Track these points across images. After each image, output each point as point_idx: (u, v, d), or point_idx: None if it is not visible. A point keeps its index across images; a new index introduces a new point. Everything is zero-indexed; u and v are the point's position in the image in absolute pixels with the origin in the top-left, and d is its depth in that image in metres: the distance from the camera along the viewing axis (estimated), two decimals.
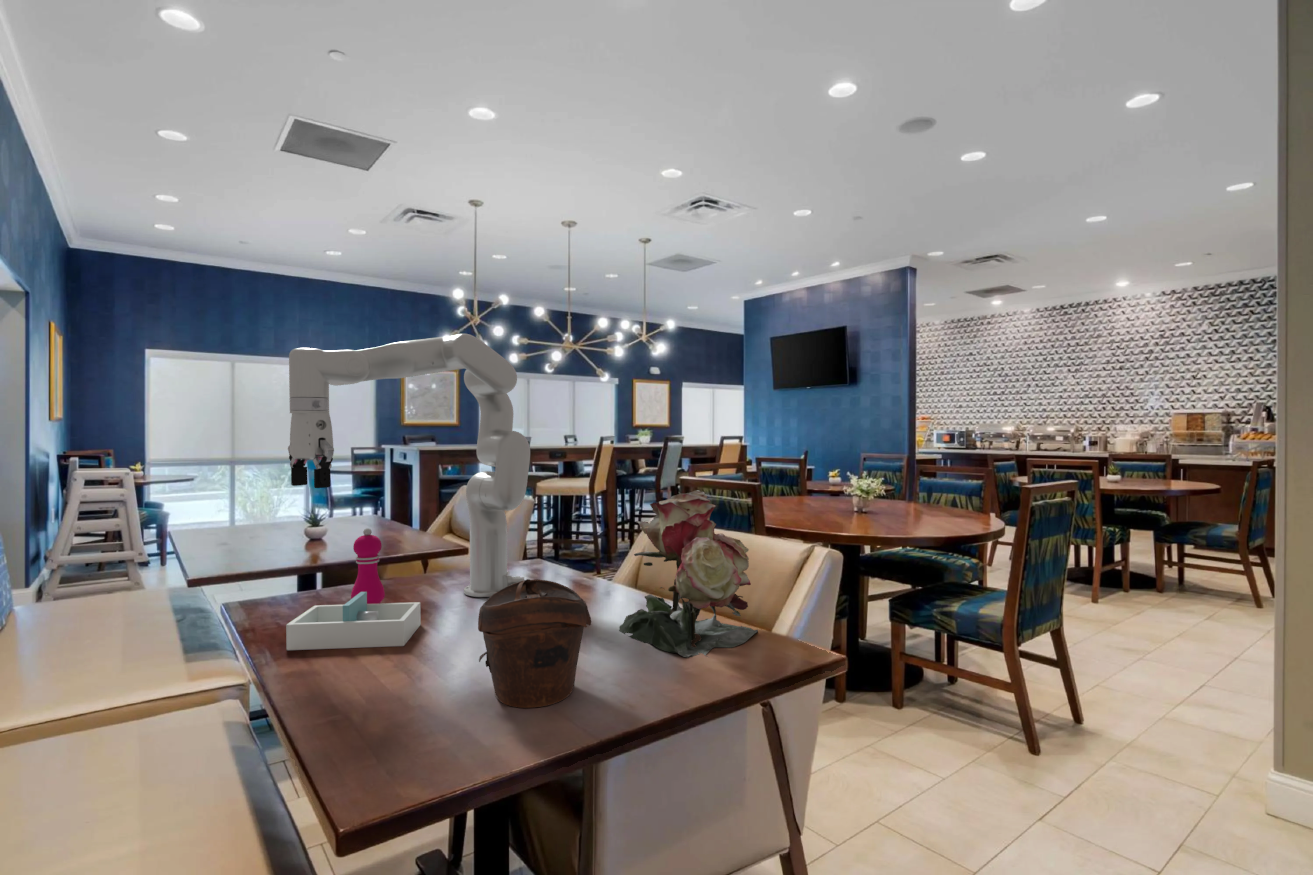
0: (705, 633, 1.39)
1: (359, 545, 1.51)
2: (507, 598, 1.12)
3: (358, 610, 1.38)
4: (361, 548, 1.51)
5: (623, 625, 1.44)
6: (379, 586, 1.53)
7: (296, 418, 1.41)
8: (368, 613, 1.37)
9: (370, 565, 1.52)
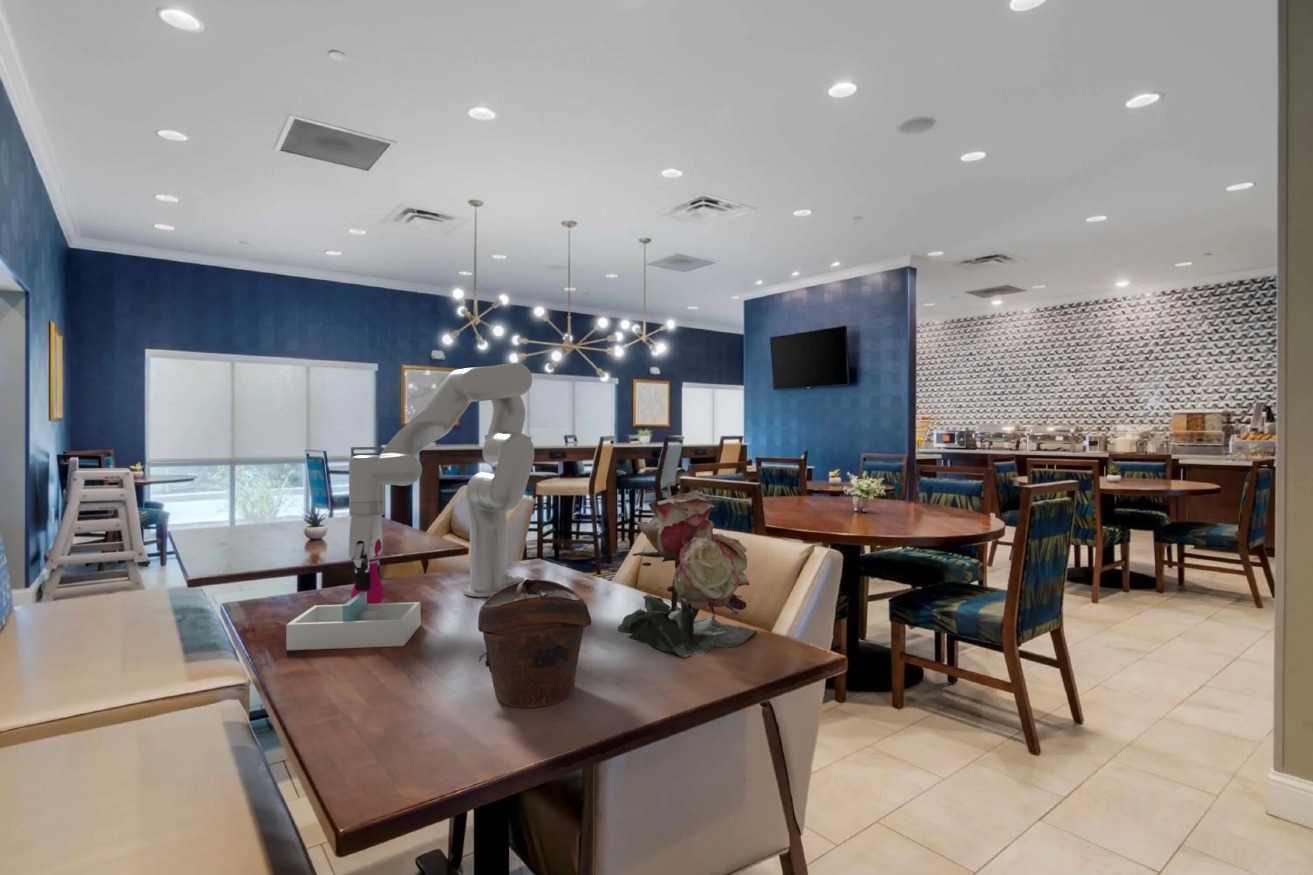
0: (704, 633, 1.39)
1: None
2: (507, 598, 1.12)
3: (358, 610, 1.38)
4: None
5: (622, 625, 1.44)
6: (379, 586, 1.53)
7: (377, 519, 1.53)
8: (368, 613, 1.37)
9: (370, 565, 1.52)
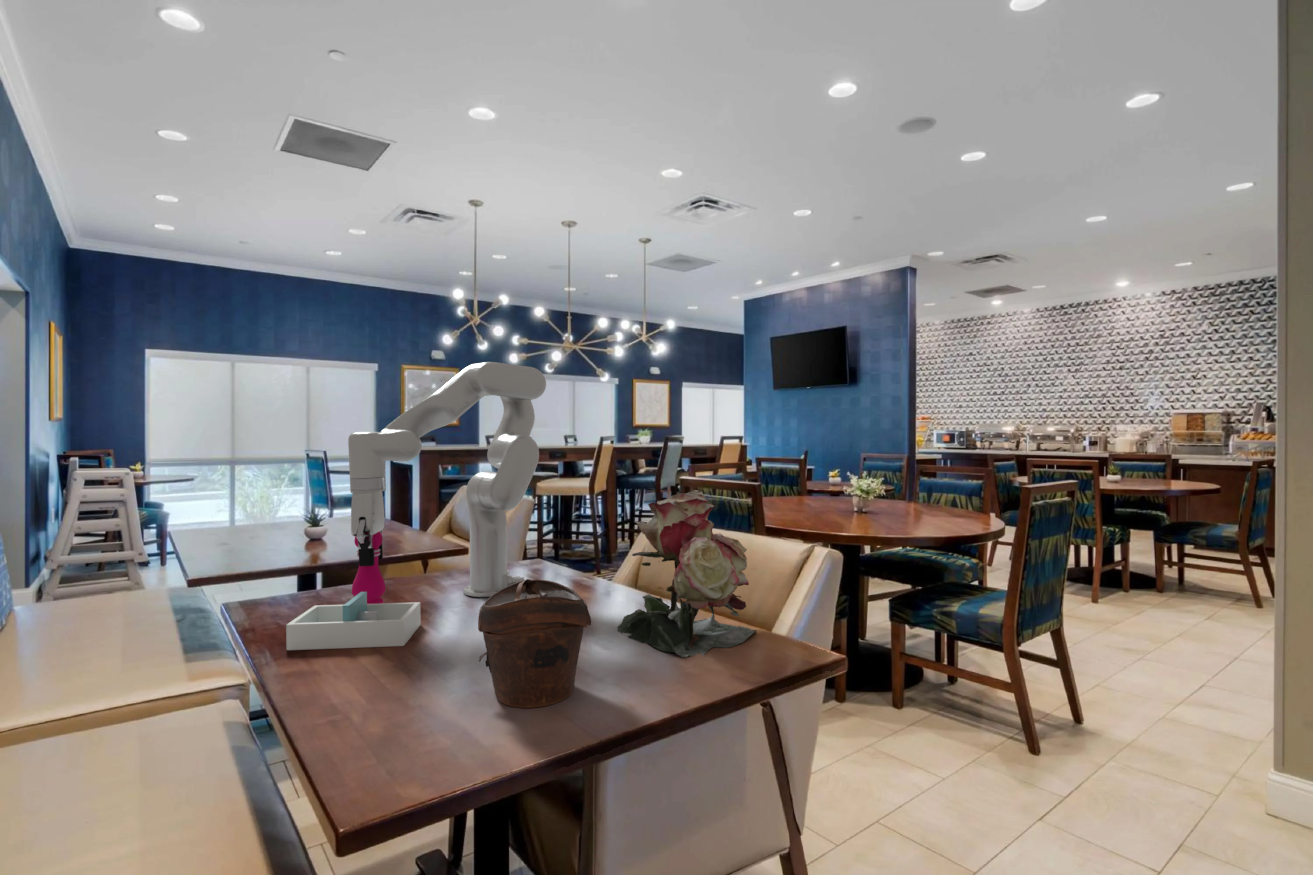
0: (704, 633, 1.39)
1: None
2: (507, 598, 1.12)
3: (358, 610, 1.38)
4: None
5: (621, 625, 1.44)
6: (380, 579, 1.53)
7: (378, 495, 1.53)
8: (368, 613, 1.37)
9: None
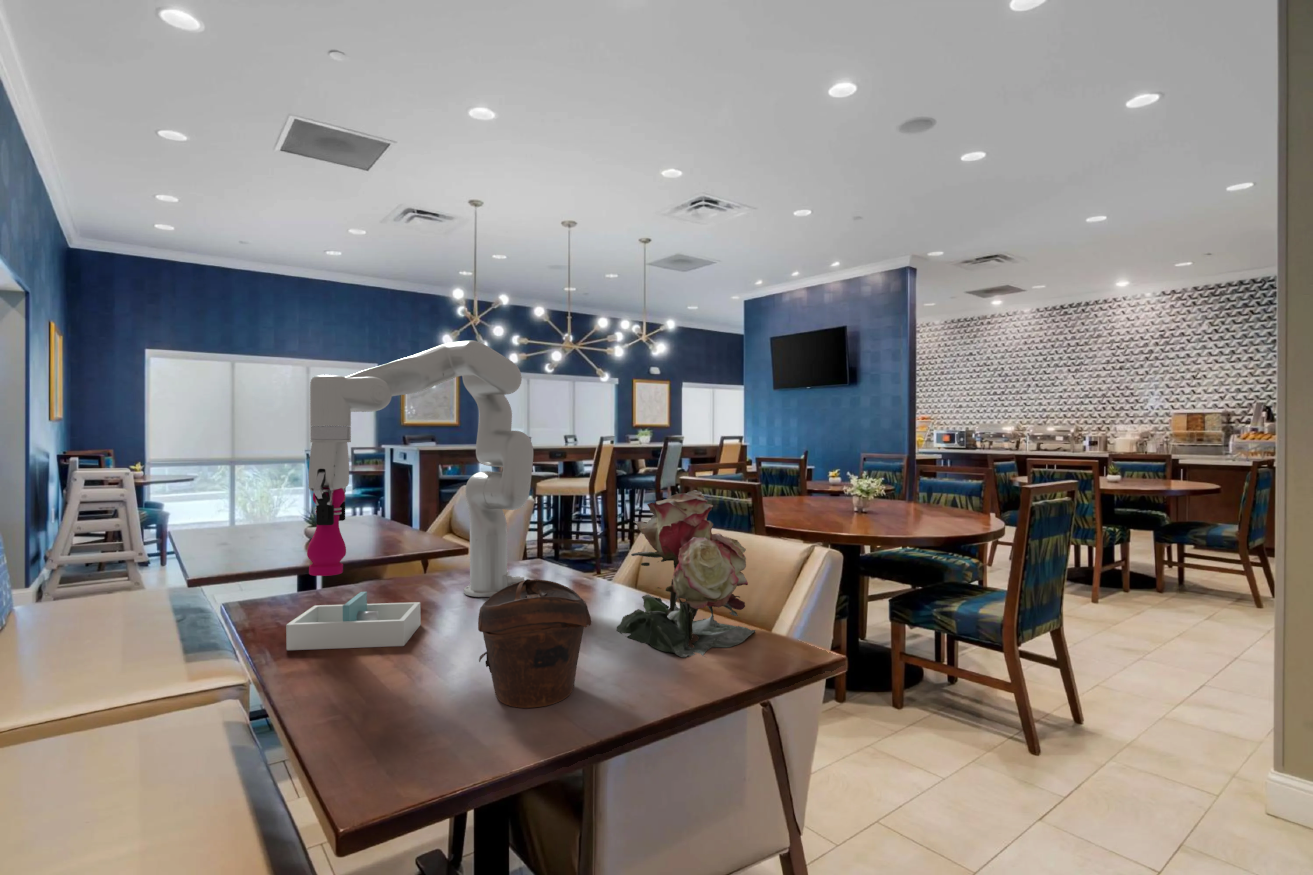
0: (703, 633, 1.39)
1: None
2: (507, 598, 1.12)
3: (358, 610, 1.38)
4: None
5: (620, 625, 1.44)
6: (339, 541, 1.36)
7: (342, 447, 1.37)
8: (368, 613, 1.37)
9: None
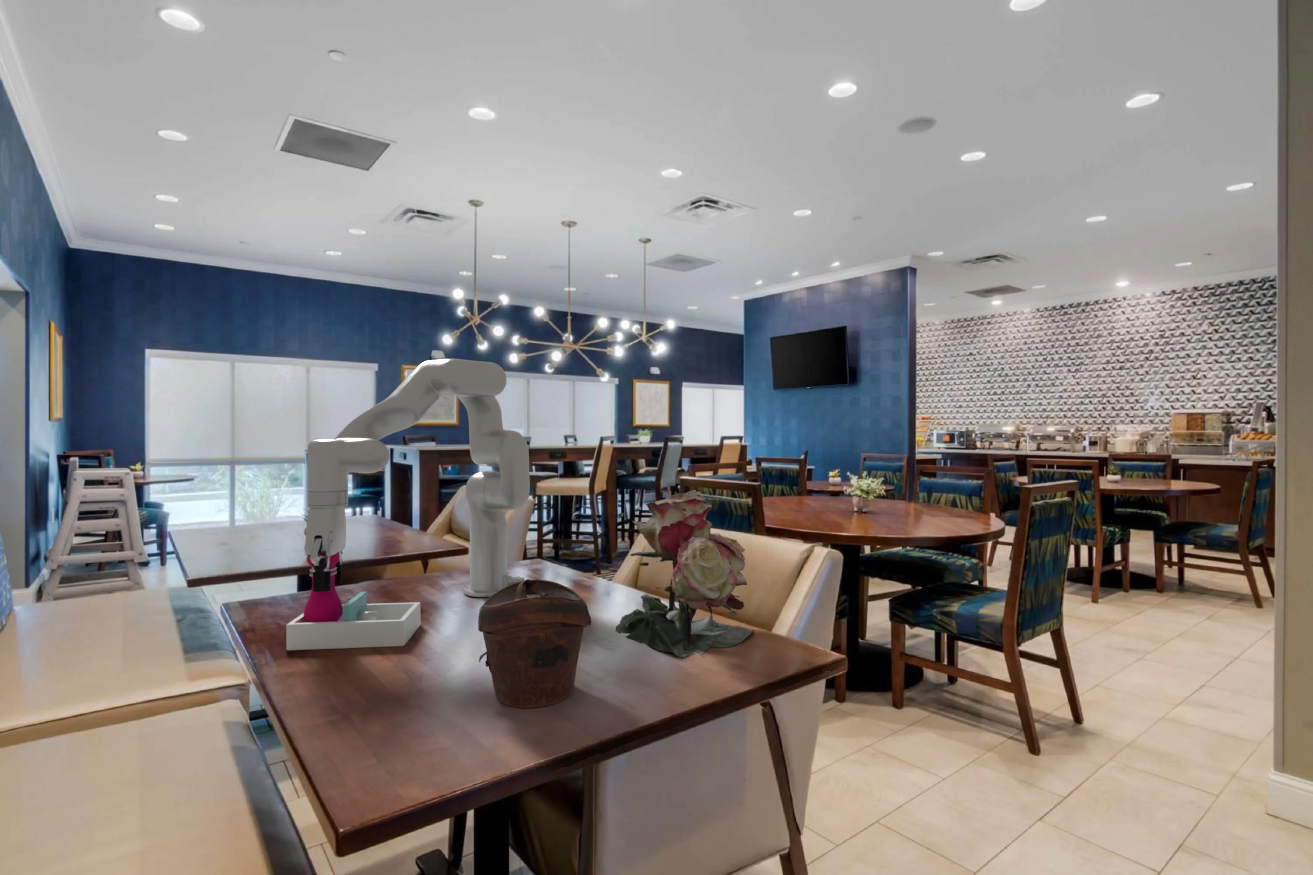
0: (702, 632, 1.39)
1: None
2: (507, 598, 1.12)
3: (358, 610, 1.38)
4: None
5: (619, 625, 1.44)
6: (336, 602, 1.35)
7: (339, 512, 1.36)
8: (368, 613, 1.37)
9: None
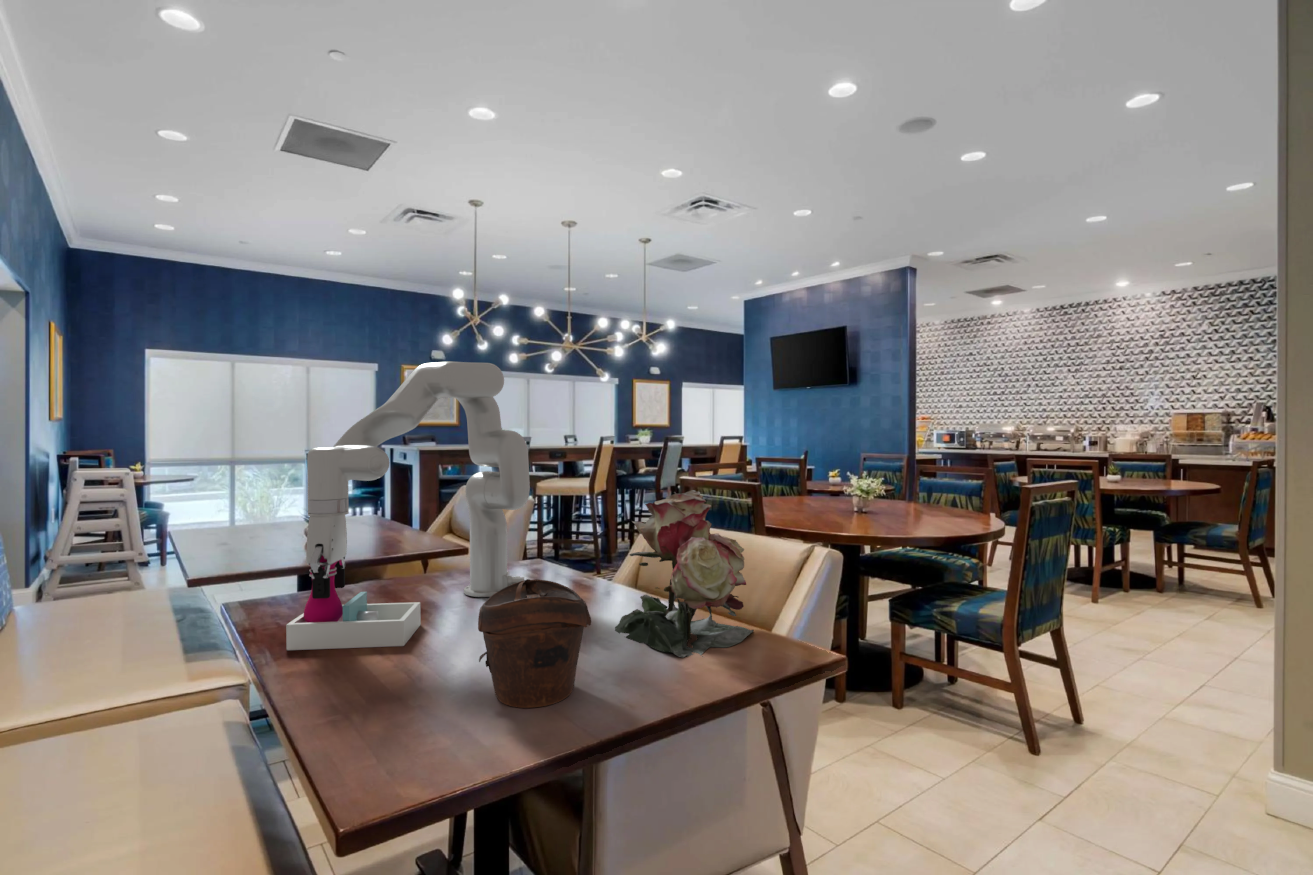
0: (701, 632, 1.39)
1: None
2: (507, 598, 1.12)
3: (358, 610, 1.38)
4: None
5: (619, 625, 1.44)
6: (335, 602, 1.35)
7: (340, 519, 1.36)
8: (368, 613, 1.37)
9: None
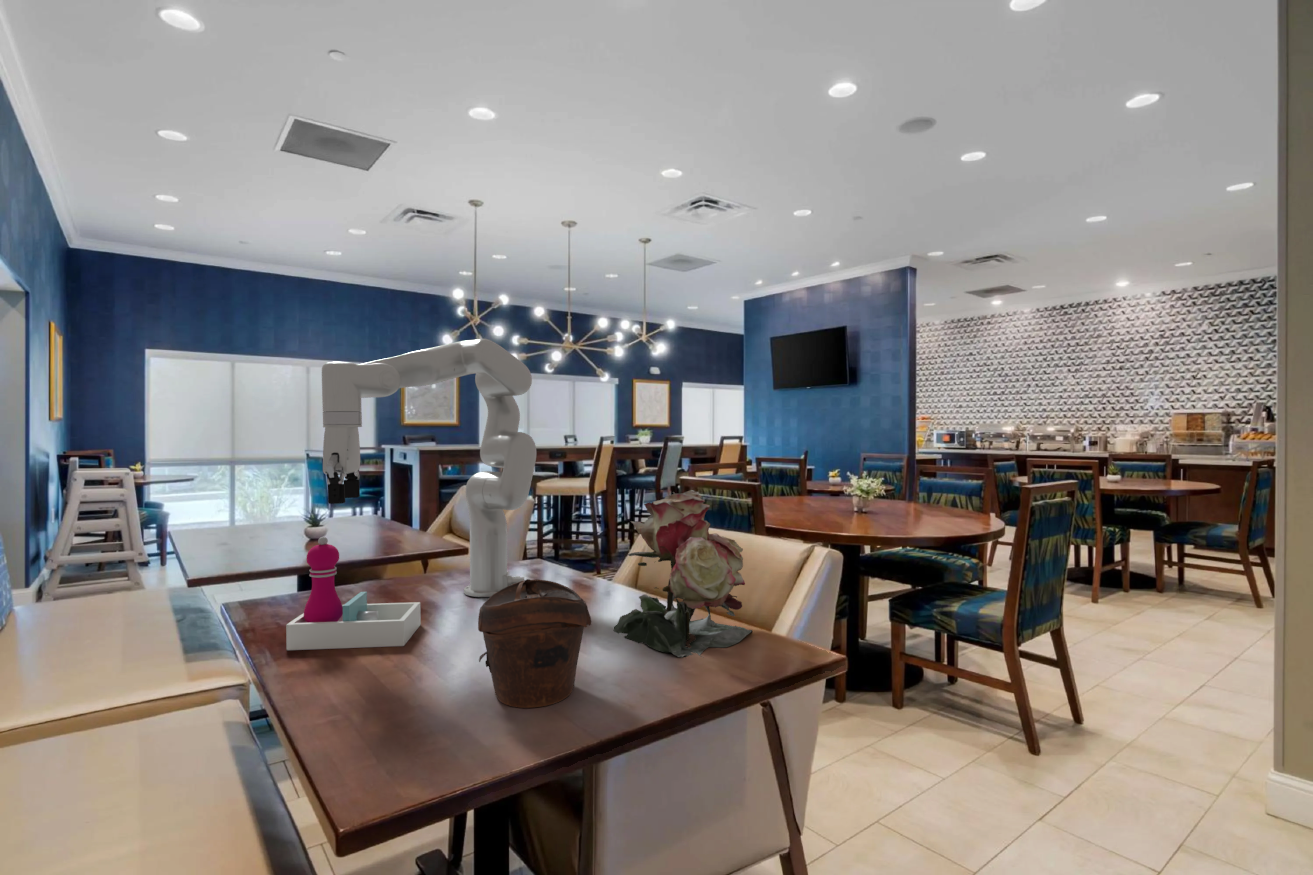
0: (700, 632, 1.39)
1: (312, 556, 1.33)
2: (507, 598, 1.12)
3: (358, 610, 1.38)
4: (315, 559, 1.33)
5: (617, 625, 1.44)
6: (335, 602, 1.35)
7: (354, 432, 1.41)
8: (368, 613, 1.37)
9: (325, 579, 1.34)
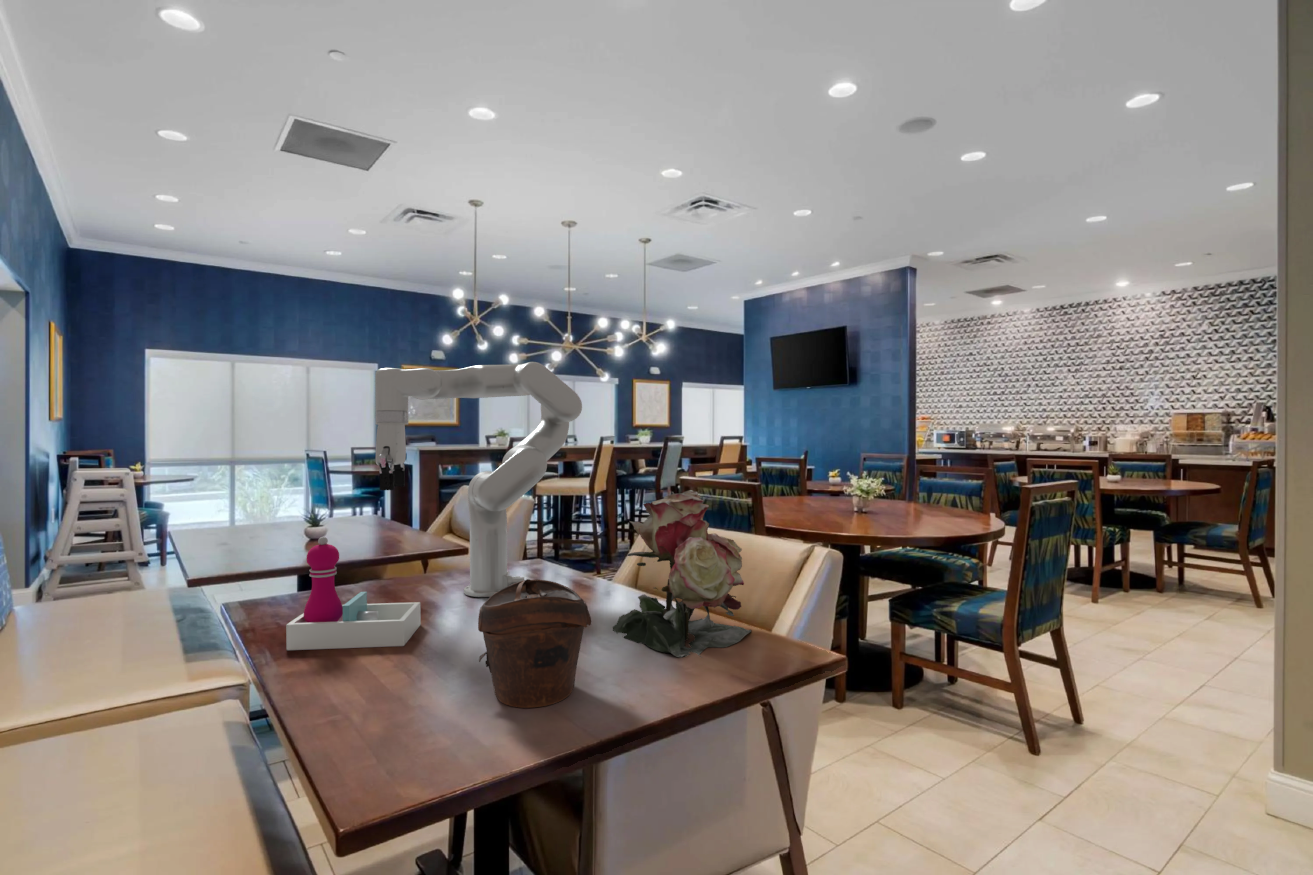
0: (699, 632, 1.39)
1: (312, 556, 1.33)
2: (507, 598, 1.12)
3: (358, 610, 1.38)
4: (315, 559, 1.33)
5: (616, 625, 1.44)
6: (335, 602, 1.35)
7: (402, 429, 1.63)
8: (368, 613, 1.37)
9: (325, 579, 1.34)
